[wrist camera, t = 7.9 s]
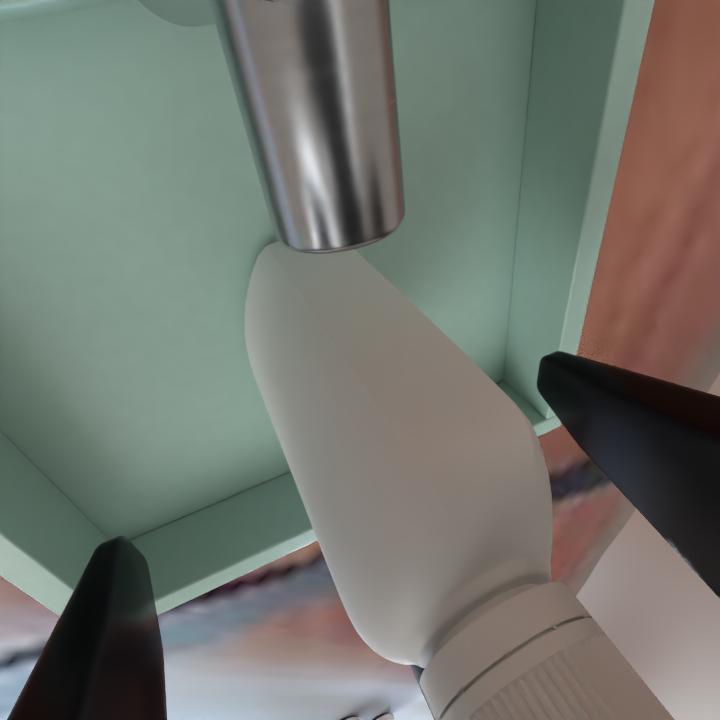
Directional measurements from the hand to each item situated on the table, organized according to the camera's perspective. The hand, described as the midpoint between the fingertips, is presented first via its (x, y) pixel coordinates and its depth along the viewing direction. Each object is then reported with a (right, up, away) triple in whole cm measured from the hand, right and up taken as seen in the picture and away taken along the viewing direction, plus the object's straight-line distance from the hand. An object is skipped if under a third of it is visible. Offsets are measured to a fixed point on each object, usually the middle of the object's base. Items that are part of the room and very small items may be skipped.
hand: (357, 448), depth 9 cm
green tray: (-2, +4, +3) cm, 5 cm away
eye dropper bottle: (-2, +3, +4) cm, 5 cm away
